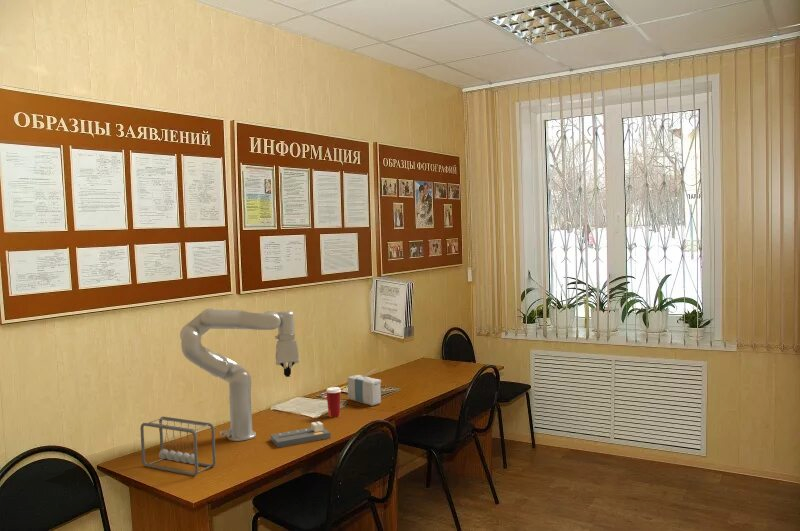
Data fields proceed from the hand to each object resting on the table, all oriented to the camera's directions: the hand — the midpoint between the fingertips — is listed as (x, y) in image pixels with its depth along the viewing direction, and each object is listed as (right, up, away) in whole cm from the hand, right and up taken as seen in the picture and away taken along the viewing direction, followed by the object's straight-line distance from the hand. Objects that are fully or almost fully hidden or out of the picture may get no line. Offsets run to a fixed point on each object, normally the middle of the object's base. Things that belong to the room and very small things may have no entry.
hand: (287, 376), depth 288 cm
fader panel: (+8, -26, -14) cm, 30 cm away
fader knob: (+15, -22, -11) cm, 29 cm away
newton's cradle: (-35, -29, -44) cm, 63 cm away
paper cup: (+20, -24, +21) cm, 37 cm away
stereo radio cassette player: (+34, -23, +46) cm, 61 cm away
